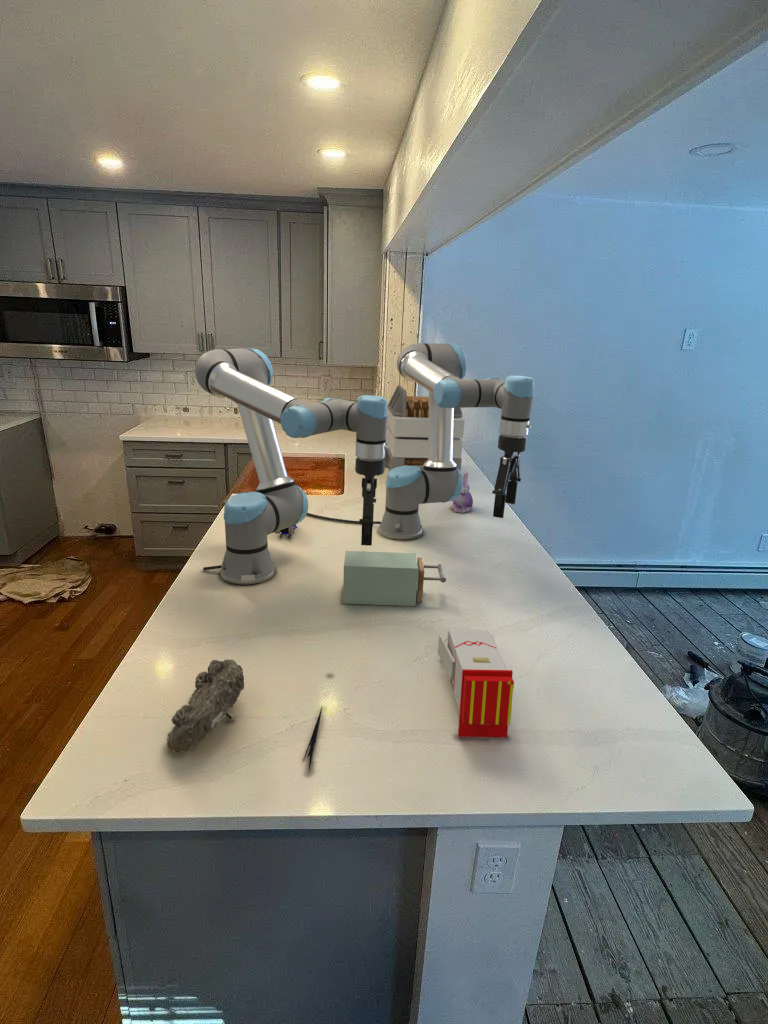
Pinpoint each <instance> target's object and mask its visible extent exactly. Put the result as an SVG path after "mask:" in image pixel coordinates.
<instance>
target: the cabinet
mask: <svg viewBox="0 0 768 1024" xmlns="http://www.w3.org/2000/svg"><path fill="white" fill-rule="evenodd" d="M344 554H345V555H344V562H343V584H342V585H343V587H342V604H346V605H348V604H349V605H374V606H375V605H376V606H377V605H379V606H404V607H405V606H406V607H407V606H408V607H409V606H410V607H415V606H416V604H417V593H416V589H417V575H418V565H417V561H418V558H417V554H416V553H415V552H394V551H393V552H392V551H391V552H389V551H365V550H363V551H362V550H361V551H360V550H345V553H344Z"/></svg>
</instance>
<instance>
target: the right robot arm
mask: <svg viewBox="0 0 768 1024" xmlns="http://www.w3.org/2000/svg"><path fill="white" fill-rule="evenodd" d="M396 368H397V371H398V373H399V375H400V376H401V377H402V378H404V379H405V380H407V382H408V381H409V382H412V383H416V384H418V385H420V386H421V387H422V388H424V389H425V390H427V391H428V397H429V426H428V460H427V461H426V462H425V463H424V464H423V466H422V467H423V469H421V467H420V466H407V465H404V466H400V467H396V468H393V469H392V470H390V469H389V470H388V472H387V475H386V480H385V481H386V482H385V504H384V505H385V507H384V508H385V509H384V513H383V515H382V519H381V521H379V520H378V521H377V520H376V521H374V520H373V525H378V533H379V534H380V535H381V536H382V537H385V538H387V539H389V540H395V541H410V540H415V539H418V538H420V537H421V536H422V535H423V525H422V524H421V518H420V515H419V507H420V506H419V505H423V504H436V503H437V504H439V503H442V504H444V503H449V502H453V501H454V500H456V499H457V497H458V496H459V495H460V493H461V490H462V485H463V478H462V477H463V474H462V471H461V472H460V470H458V469H457V468H456V466H457V465H456V464H455V463H454V462H453V460H452V455H453V422H454V408H461V409H464V408H497V409H500V410H501V415H500V423H499V431H498V432H499V433H498V434H500V435H499V436H498V441H497V448H498V449H499V450H500V451H503V452H504V454H503V455H502V456H501V457H500V458H499V460H500V461H499V466H498V470H497V475H496V479H495V484H494V487H493V488H494V489H493V490H492V491H491V493H492V494H493V495H494V503H493V511H492V517H495V518H500V519H504V515H505V508H506V507H505V506H506V504H510V505H515V504H516V498H517V490H518V484H519V483H521V481H522V478H521V454H522V453H523V452H525V451H526V450H527V445H528V437H527V436H528V435H529V429H531V428H532V425H531V424H530V420H531V414H532V407H533V400H534V395H535V391H534V390H535V389H534V388H535V380H534V378H533V377H531V376H524V375H507V376H506V377H505V380H504V379H500V378H498V377H488V378H485V379H464V378H465V376H466V373H467V369H468V363H467V356H466V353H465V351H464V349H463V348H462V347H461V346H460V345H458V344H454V343H447V342H445V343H433V342H432V343H429V342H426V343H425V342H415V343H411V344H409V345H407V346H406V347H404V348H403V349H402V350H401V351H400V352H399V354H398V356H397V359H396ZM461 476H462V477H461ZM518 482H519V483H518ZM306 516H308V517H312V518H317V519H322V520H326V521H331V522H341V523H347V524H358V525H362V522H359V520H350V519H344V518H343V519H342V518H335V517H330V516H329V517H328V516H322V515H318V514H314V513H310V512H307V514H306Z"/></svg>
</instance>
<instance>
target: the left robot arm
mask: <svg viewBox="0 0 768 1024" xmlns="http://www.w3.org/2000/svg"><path fill="white" fill-rule="evenodd" d="M194 375H195V378H196V381H197V384H198V385H199V386H200V387H201V389H203V390H204V391H205V392H207V393H208V394H209V395H212V396H214V397H216V398H218V399H224V398H227V399H228V400H230V401H232V402H234V403H235V404H237V407H238V411H239V414H240V418H241V421H242V425H243V429H244V433H245V436H246V440H247V444H248V447H249V450H250V454H251V457H252V461H253V465H254V468H255V472H256V475H257V479H258V485H257V487H256V488H255V491H247V492H244V491H243V492H240V493H235V494H234V495H232V496H229V498H228V499H227V500H226V501H225V503H224V507H223V520H224V532H225V534H224V535H225V552H224V556H223V559H222V563H221V565H219V564H218V565H211V566H203V568H202V569H203V570H202V571H211V570H218V569H219V570H220V576H221V579H222V580H224V581H225V582H227V583H230V584H233V585H240V586H241V585H242V586H247V585H256V584H261V583H263V582H264V583H265V582H266V581H268V580H270V579H271V578H273V576H274V575H275V571H276V570H275V569H276V567H275V564H274V561H273V557H272V556H271V553H270V550H269V548H268V547H269V545H268V536H269V535H271V534H274V533H275V532H277V531H280V530H282V529H285V528H288V527H292V526H294V525H296V526H297V525H298V524H300V523H302V522H303V521H304V520H305V519H306V516H307V515H306V514H307V513H309V512H308V511H309V500H308V499H309V498H308V495H307V494H306V492H305V490H303V488H302V487H300V486H298V485H296V482H295V479H294V478H292V477H290V476H289V474H288V472H287V468H286V465H285V461H284V458H283V454H282V450H281V447H280V443H279V439H278V436H277V432H276V427H275V424H274V422H276V423H278V424H279V425H280V426H281V428H282V431H283V432H284V433H285V435H286V436H287V437H289V438H291V439H292V438H293V439H304V438H308V437H312V436H315V435H321V434H325V433H326V434H327V433H330V432H331V433H332V432H335V431H336V432H337V431H341V430H342V431H348V432H352V433H355V434H356V435H355V457H356V458H355V466H354V467H355V469H354V470H355V473H356V474H357V475H361V476H364V477H361V497H362V498H363V499H362V500H363V501H362V516H361V517H362V518H359V520H358V521H359V522H362V524H361V534H360V535H361V537H360V546H370V547H372V545H373V528H374V524H373V521H374V511H375V510H374V509H375V504H376V503H377V498H376V491H377V487H378V478H375V477H378V476H381V475H383V474H384V473H385V467H386V466H385V460H384V457H385V450H386V449H388V446H385V444H386V443H385V442H386V426H387V417H388V414H387V405H388V401H387V398H385V397H384V396H381V395H372V394H371V395H370V394H368V395H367V394H366V395H360V396H358V398H357V401H352V400H347V399H342V398H339V397H325V398H323V399H322V401H319V402H315V403H308V402H305V401H303V400H301V399H298V398H296V397H295V396H293V395H290V394H288V393H286V392H283V391H281V390H280V389H277V388H275V387H273V386H271V384H272V382H273V377H274V369H273V365H272V363H271V361H270V359H269V358H268V356H267V355H266V354H265V353H264V352H262V351H261V350H260V349H256V348H249V347H242V348H239V347H238V348H223V349H221V348H220V349H219V348H216V349H210V350H208V351H206V352H204V353H203V354H202V355H201V356H200V357H199V358H198V359H197V362H196V364H195V367H194Z"/></svg>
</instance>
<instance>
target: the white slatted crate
mask: <svg viewBox="0 0 768 1024" xmlns="http://www.w3.org/2000/svg"><path fill="white" fill-rule="evenodd" d="M407 394H408V393H407V390H406V389H404V388H403V387H402V385H399V384H398V385H397V386H396V388H395V390H394V392H393V394H392V395H391V398H390V400H389V402H387V414H388V417H387V426H386V442H385V443H386V444H385V446H388V449H386V450H385V457H384V458H383V459H384V460H385V467H388V468H389V471H390V470H392V469H393V468H396V467H400V466H416V467H423V464H424V463H425V462H426V461H427V460H428V426H429V396H415V395H414V396H413V395H412V396H411V395H407ZM464 429H465V419H464V418H463V411H462V408H454V422H453V455H452V460H453V462H454V463H455V464H456V465H457V466H456V468H457V469H458V470H460V472H461V473H462V461H463V460H462V453H463V442H464V441H463V440H462V439H463V438H464V431H465V430H464Z"/></svg>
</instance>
